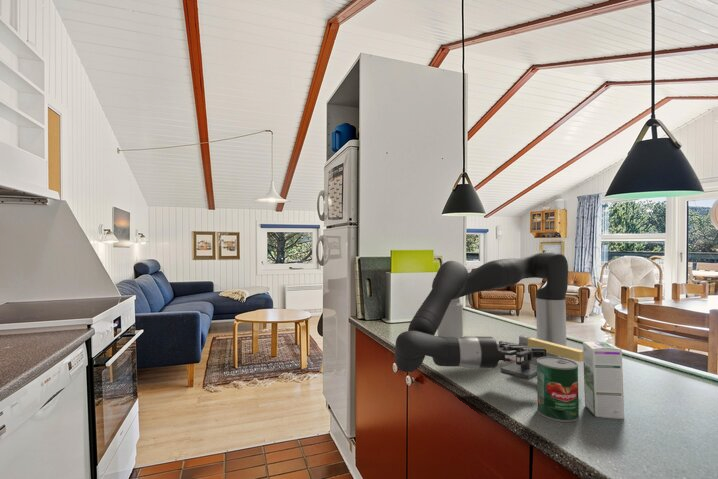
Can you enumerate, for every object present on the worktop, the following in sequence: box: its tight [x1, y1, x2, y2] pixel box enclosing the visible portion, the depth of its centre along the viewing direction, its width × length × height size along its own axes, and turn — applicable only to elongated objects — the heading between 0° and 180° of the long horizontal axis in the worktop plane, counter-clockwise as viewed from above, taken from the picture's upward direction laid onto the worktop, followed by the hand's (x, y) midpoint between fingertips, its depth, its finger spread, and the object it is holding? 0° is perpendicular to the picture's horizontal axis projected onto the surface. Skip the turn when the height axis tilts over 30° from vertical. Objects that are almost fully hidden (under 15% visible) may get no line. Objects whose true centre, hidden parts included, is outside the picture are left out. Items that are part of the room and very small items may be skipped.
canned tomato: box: [536, 356, 580, 423], centre depth 79 cm, size 8×8×11 cm
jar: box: [437, 297, 464, 337], centre depth 146 cm, size 10×10×18 cm
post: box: [500, 346, 537, 380], centre depth 106 cm, size 10×8×7 cm
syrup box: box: [582, 341, 625, 420], centre depth 80 cm, size 6×6×14 cm
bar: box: [518, 335, 584, 363], centre depth 100 cm, size 18×3×2 cm, turn 26°
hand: (544, 352), depth 92 cm, fingers closed
